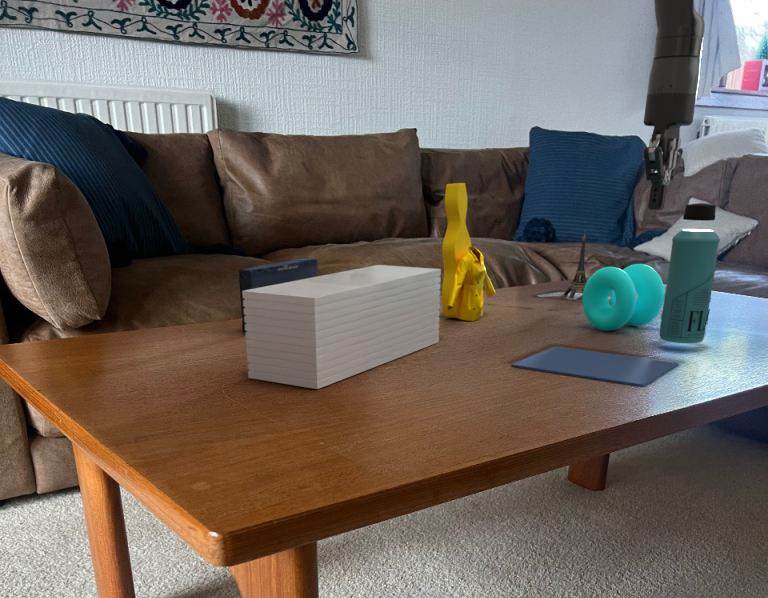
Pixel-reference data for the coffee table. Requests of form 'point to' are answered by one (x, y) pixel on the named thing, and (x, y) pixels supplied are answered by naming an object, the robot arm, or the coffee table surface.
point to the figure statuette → (462, 262)
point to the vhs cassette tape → (275, 276)
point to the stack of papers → (339, 323)
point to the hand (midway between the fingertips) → (655, 209)
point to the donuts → (623, 296)
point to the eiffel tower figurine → (575, 280)
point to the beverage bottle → (690, 279)
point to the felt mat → (597, 366)
